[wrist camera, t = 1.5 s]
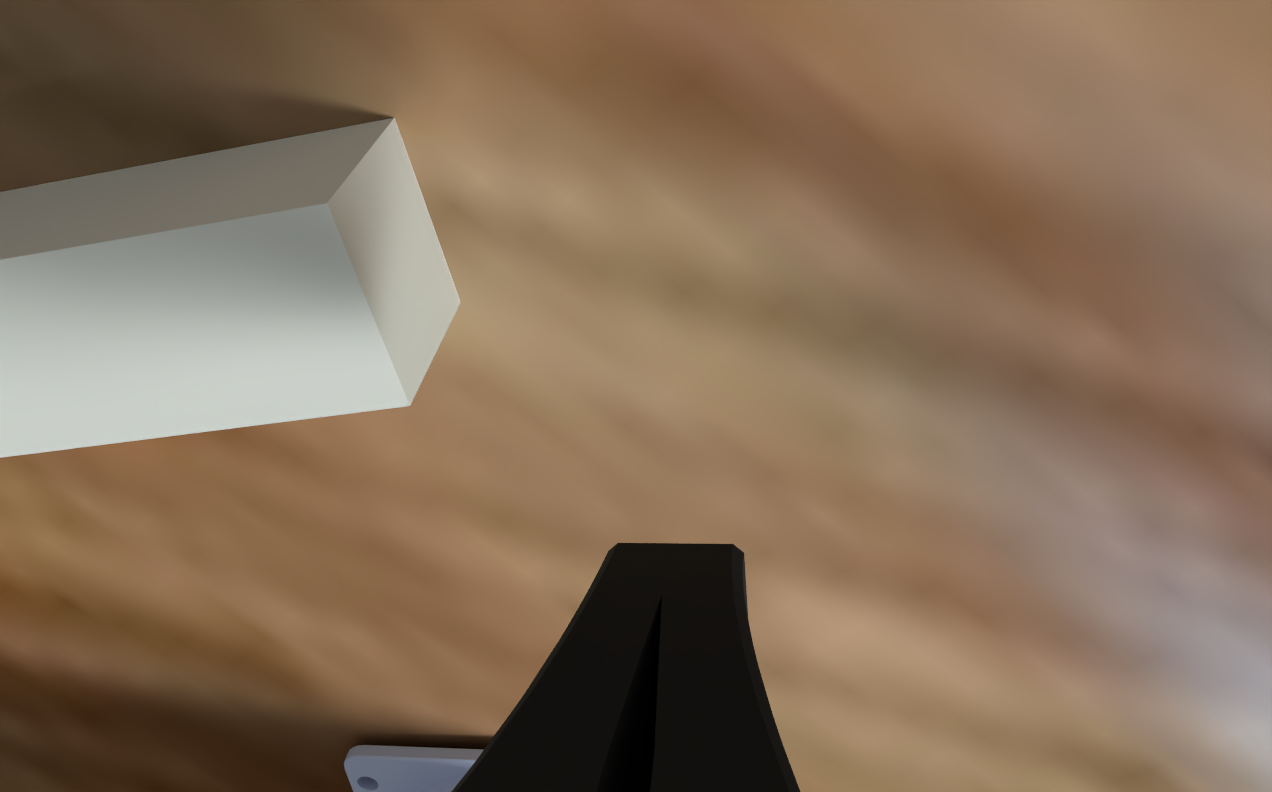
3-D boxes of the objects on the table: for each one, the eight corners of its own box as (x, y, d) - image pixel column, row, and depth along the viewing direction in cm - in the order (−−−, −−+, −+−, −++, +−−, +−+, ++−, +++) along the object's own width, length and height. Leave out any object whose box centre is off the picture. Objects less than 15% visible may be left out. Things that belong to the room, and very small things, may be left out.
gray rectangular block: (463, 294, 21) (409, 405, 18) (-83, 375, 24) (-206, 483, 21) (399, 111, 19) (327, 202, 16) (-187, 222, 22) (-338, 317, 19)
